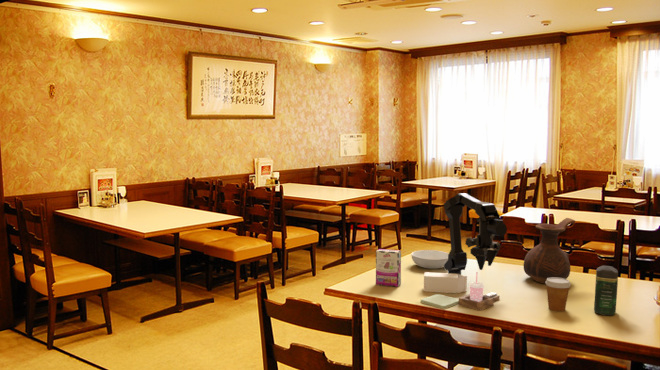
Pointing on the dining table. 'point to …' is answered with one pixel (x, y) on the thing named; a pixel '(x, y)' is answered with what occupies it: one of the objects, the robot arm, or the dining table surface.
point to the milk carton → (445, 282)
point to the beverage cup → (476, 290)
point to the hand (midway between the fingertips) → (485, 267)
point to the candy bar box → (388, 267)
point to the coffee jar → (606, 290)
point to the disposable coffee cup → (557, 293)
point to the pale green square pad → (440, 301)
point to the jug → (548, 254)
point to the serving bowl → (430, 258)
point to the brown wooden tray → (477, 305)
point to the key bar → (490, 295)
